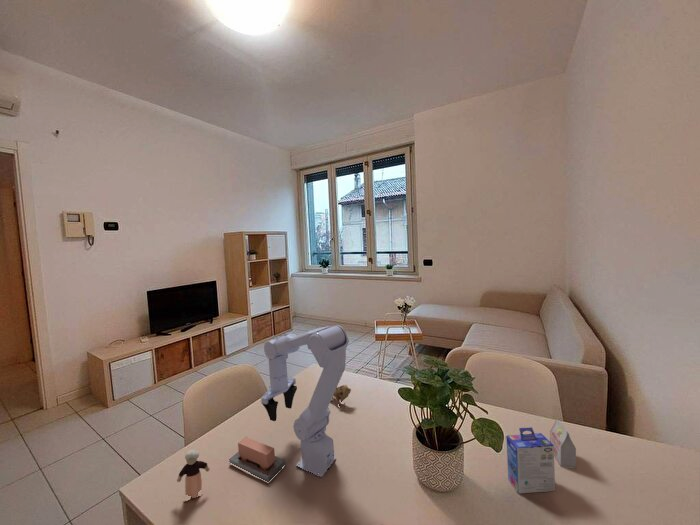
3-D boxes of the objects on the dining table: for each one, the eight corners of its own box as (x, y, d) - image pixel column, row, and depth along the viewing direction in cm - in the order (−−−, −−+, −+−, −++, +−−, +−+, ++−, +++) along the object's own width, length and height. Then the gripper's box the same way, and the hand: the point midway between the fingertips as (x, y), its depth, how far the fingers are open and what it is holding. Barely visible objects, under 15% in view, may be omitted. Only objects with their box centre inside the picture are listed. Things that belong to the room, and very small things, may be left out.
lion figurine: (353, 405, 116) (352, 384, 115) (344, 411, 112) (343, 389, 111) (328, 394, 125) (327, 374, 125) (319, 399, 121) (318, 379, 121)
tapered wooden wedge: (275, 469, 84) (274, 448, 84) (268, 476, 82) (266, 454, 81) (247, 456, 90) (245, 436, 90) (239, 463, 87) (237, 442, 87)
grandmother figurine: (179, 508, 73) (175, 461, 72) (178, 498, 76) (174, 453, 75) (212, 492, 77) (208, 447, 76) (209, 482, 80) (206, 440, 80)
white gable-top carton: (564, 451, 86) (564, 419, 85) (575, 468, 79) (575, 434, 79) (550, 449, 87) (550, 418, 86) (560, 466, 80) (560, 432, 80)
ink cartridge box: (541, 474, 78) (541, 423, 77) (556, 491, 72) (556, 437, 71) (505, 476, 78) (505, 426, 77) (518, 494, 72) (517, 440, 71)
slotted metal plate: (285, 466, 85) (285, 459, 85) (268, 484, 79) (268, 477, 79) (247, 450, 93) (247, 444, 93) (229, 465, 87) (229, 459, 86)
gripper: (284, 363, 103) (286, 400, 104) (253, 381, 90) (256, 423, 91) (299, 367, 99) (301, 404, 100) (269, 386, 87) (272, 428, 88)
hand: (281, 413), depth 95 cm, fingers open, 7 cm apart
